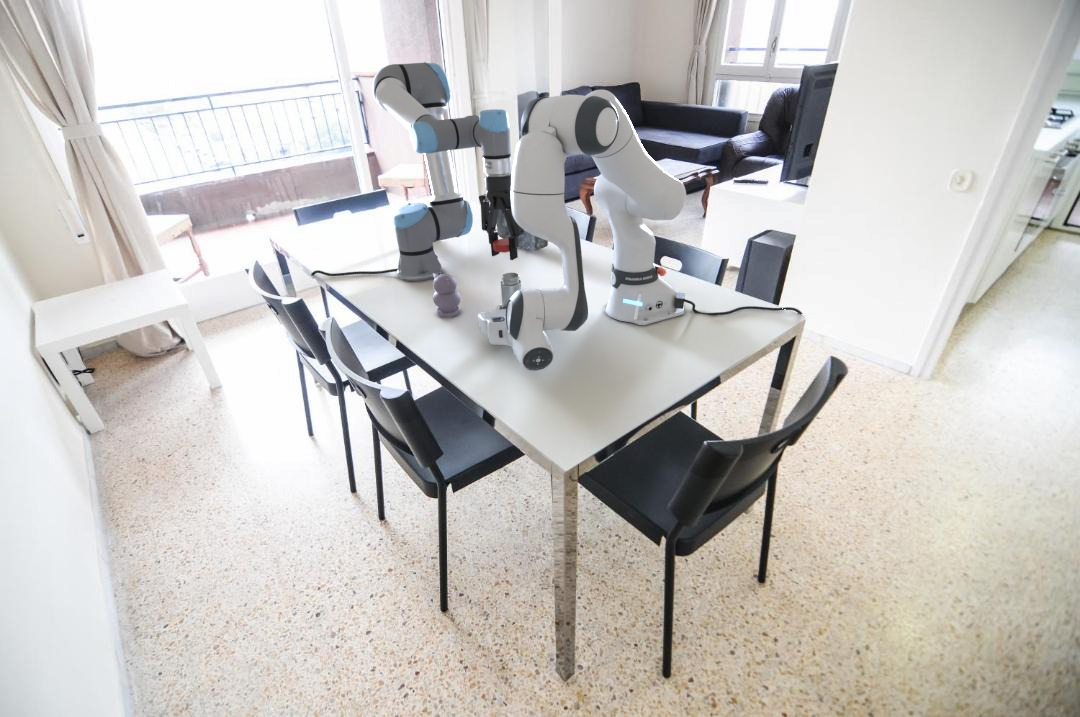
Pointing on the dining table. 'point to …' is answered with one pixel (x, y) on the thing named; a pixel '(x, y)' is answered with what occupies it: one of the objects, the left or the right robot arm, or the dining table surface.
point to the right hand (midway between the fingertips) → (511, 305)
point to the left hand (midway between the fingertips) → (504, 256)
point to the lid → (501, 245)
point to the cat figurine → (446, 295)
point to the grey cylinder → (509, 286)
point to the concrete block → (525, 240)
